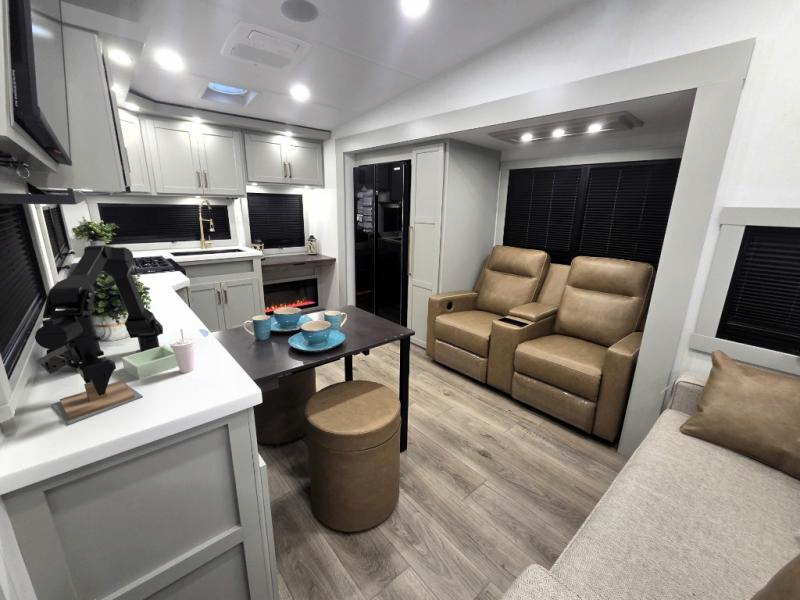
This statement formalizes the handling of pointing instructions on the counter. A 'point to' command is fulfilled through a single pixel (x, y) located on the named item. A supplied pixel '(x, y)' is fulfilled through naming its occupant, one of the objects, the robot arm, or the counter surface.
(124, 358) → the dish
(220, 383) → the counter surface
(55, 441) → the counter surface
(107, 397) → the lid
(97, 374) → the robot arm
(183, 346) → the smoothie
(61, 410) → the mat
